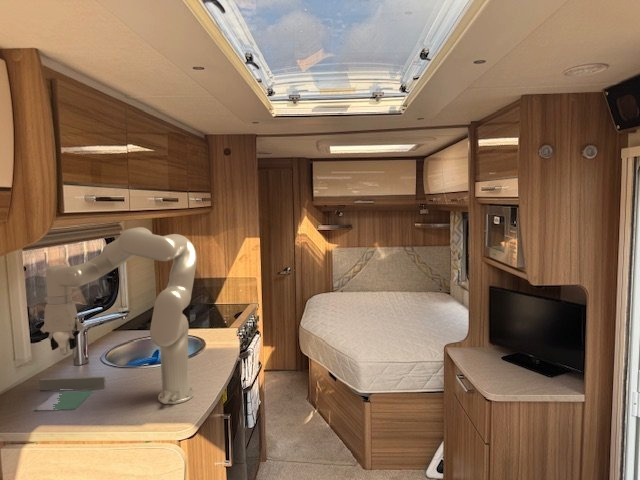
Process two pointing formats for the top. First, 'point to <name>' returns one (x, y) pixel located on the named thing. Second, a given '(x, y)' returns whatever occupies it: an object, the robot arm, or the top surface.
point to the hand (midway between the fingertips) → (64, 348)
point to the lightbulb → (62, 341)
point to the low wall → (73, 383)
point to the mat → (71, 400)
